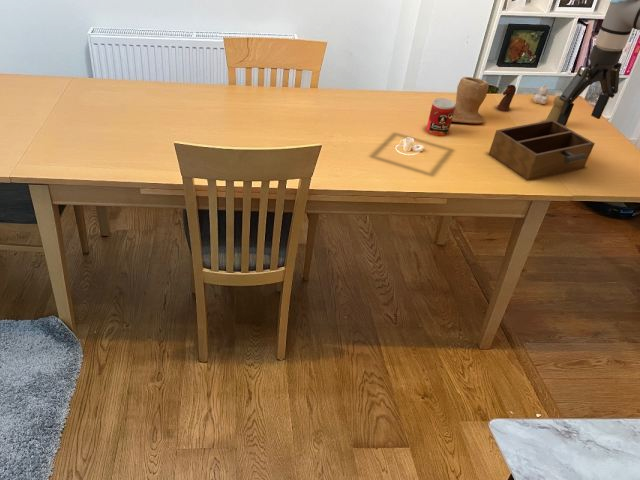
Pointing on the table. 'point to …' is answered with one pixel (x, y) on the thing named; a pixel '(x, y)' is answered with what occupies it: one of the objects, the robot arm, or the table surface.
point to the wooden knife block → (540, 149)
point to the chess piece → (507, 98)
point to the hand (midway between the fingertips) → (578, 120)
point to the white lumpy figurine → (541, 95)
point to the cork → (555, 109)
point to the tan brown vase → (469, 100)
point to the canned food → (440, 116)
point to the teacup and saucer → (410, 146)
